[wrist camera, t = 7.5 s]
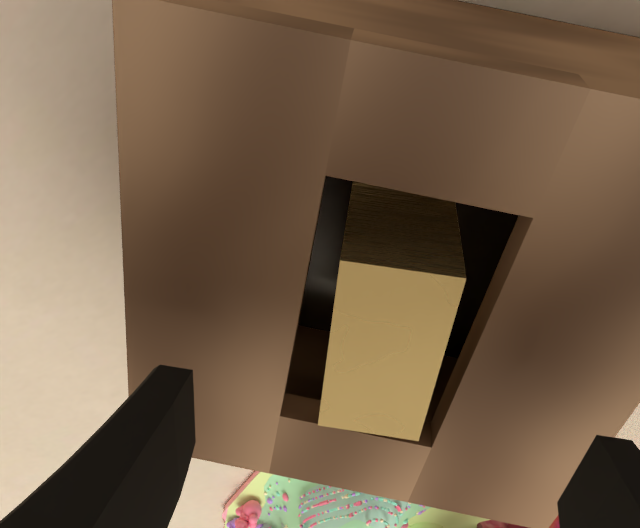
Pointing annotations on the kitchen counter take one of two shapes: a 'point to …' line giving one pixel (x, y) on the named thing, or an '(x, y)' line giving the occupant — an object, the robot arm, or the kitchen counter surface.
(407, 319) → the wooden block
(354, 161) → the coin box
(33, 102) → the kitchen counter surface
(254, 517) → the candy landscape model
